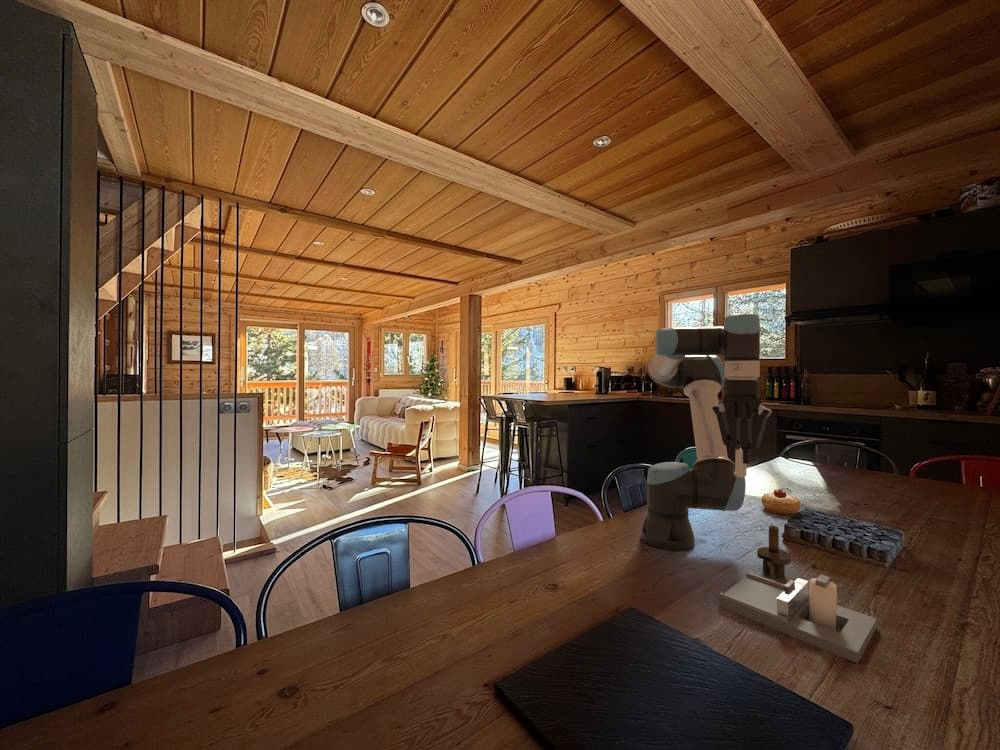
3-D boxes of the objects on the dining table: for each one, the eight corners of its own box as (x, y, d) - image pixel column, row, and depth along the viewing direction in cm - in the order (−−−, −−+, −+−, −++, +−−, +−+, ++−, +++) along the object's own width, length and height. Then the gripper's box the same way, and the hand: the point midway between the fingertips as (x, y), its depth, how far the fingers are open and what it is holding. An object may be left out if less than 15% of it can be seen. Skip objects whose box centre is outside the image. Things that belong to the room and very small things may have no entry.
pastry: (763, 505, 166) (763, 481, 166) (801, 510, 159) (800, 486, 159) (760, 512, 156) (760, 488, 156) (800, 518, 149) (799, 492, 149)
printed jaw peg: (806, 626, 88) (806, 577, 87) (812, 618, 90) (813, 571, 90) (832, 637, 84) (833, 586, 84) (838, 628, 87) (839, 579, 87)
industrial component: (770, 564, 115) (770, 520, 115) (798, 576, 108) (798, 529, 108) (745, 571, 111) (745, 525, 111) (772, 584, 105) (772, 535, 105)
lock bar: (776, 614, 88) (776, 593, 88) (797, 593, 96) (797, 573, 96) (788, 619, 86) (788, 597, 86) (808, 597, 94) (808, 576, 94)
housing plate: (718, 606, 95) (718, 593, 95) (747, 582, 105) (748, 571, 105) (857, 663, 77) (857, 648, 77) (876, 628, 87) (876, 614, 87)
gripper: (706, 378, 106) (706, 473, 107) (765, 379, 96) (764, 484, 97) (720, 377, 111) (719, 468, 112) (777, 378, 101) (776, 478, 102)
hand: (740, 476), depth 104 cm, fingers closed
